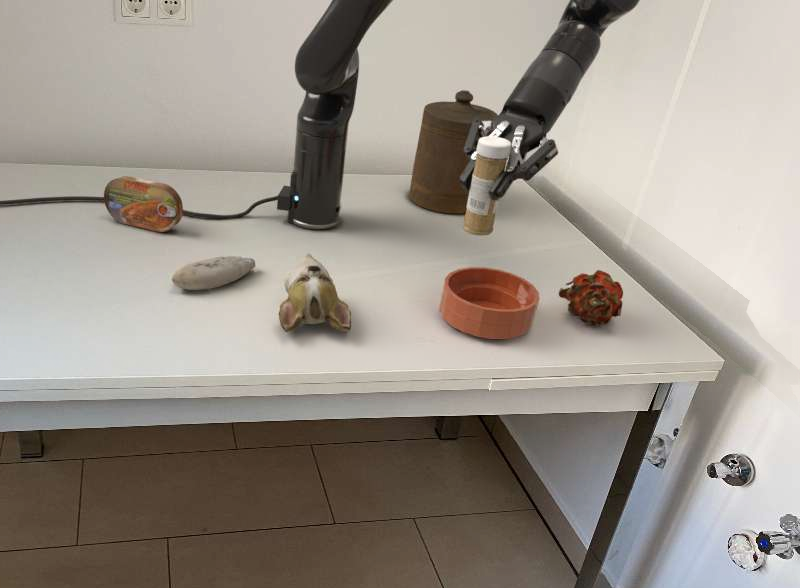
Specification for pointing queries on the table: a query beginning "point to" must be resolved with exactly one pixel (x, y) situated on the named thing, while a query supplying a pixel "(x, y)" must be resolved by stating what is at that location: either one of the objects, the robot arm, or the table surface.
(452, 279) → the bowl
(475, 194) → the sprinkles bottle
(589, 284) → the dragon fruit
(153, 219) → the tin
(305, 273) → the ceramic sculpture
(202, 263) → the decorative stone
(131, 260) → the table surface
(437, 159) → the wooden container
